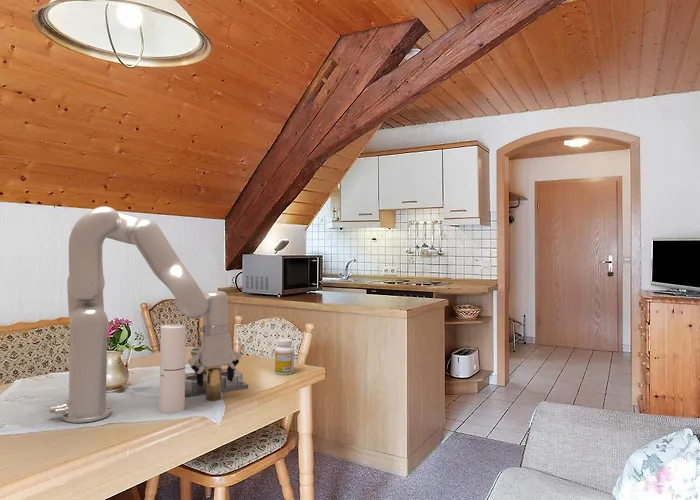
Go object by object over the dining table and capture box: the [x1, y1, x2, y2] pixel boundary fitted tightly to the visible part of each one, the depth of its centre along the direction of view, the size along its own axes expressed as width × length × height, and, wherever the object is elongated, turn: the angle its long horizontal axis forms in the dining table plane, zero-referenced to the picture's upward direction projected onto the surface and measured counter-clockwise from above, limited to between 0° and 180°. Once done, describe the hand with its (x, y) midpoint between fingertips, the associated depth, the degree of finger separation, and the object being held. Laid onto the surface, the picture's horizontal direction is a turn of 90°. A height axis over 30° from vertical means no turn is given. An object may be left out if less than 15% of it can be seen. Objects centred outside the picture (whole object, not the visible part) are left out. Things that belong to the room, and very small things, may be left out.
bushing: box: [205, 366, 222, 402], centre depth 164 cm, size 5×5×10 cm
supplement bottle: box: [274, 338, 295, 376], centre depth 197 cm, size 7×7×13 cm
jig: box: [185, 367, 249, 398], centre depth 175 cm, size 22×13×4 cm, turn 124°
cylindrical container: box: [158, 323, 187, 414], centre depth 152 cm, size 7×7×25 cm
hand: (215, 382), depth 164 cm, fingers open, 9 cm apart
